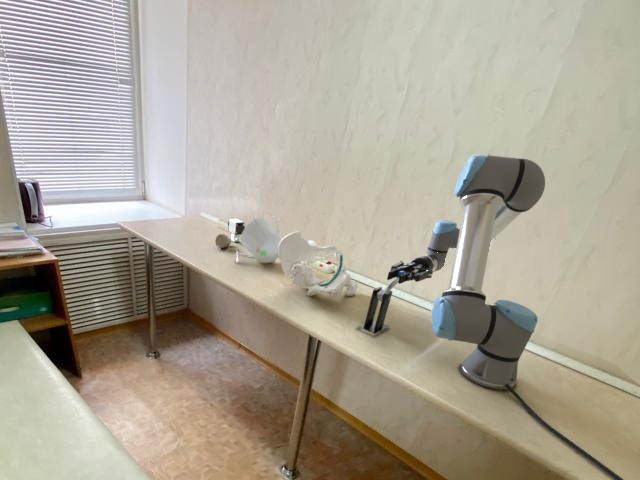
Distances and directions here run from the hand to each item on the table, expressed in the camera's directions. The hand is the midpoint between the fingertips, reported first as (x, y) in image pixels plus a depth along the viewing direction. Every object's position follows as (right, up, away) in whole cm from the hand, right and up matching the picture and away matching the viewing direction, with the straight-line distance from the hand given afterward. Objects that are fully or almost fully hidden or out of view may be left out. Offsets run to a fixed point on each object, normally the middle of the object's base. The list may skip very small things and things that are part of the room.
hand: (394, 277), depth 144 cm
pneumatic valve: (-59, +39, +85) cm, 110 cm away
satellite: (-45, +21, +60) cm, 78 cm away
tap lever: (0, -3, +3) cm, 4 cm away
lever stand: (-6, -17, +5) cm, 19 cm away
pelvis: (-23, +2, +32) cm, 40 cm away
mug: (-65, +32, +74) cm, 104 cm away
